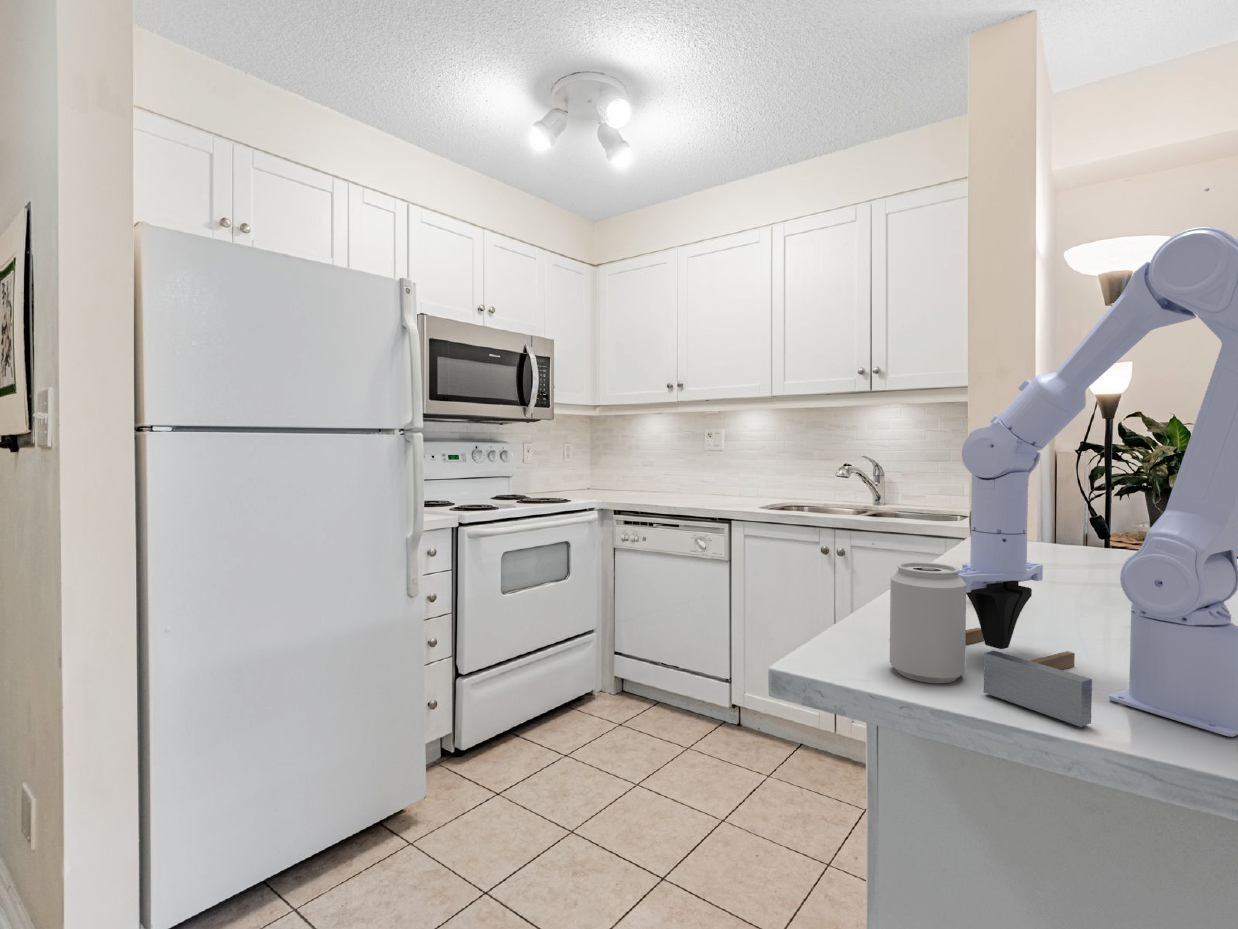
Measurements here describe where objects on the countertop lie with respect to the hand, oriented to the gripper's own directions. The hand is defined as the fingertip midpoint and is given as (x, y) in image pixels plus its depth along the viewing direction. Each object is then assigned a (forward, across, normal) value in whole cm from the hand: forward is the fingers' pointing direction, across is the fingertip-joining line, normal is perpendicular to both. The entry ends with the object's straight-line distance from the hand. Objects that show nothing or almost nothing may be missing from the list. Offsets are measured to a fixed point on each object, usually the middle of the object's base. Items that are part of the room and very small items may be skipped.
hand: (996, 646), depth 77 cm
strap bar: (+1, +11, +11) cm, 16 cm away
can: (+2, +12, 0) cm, 12 cm away
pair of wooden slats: (+1, +2, 0) cm, 2 cm away
